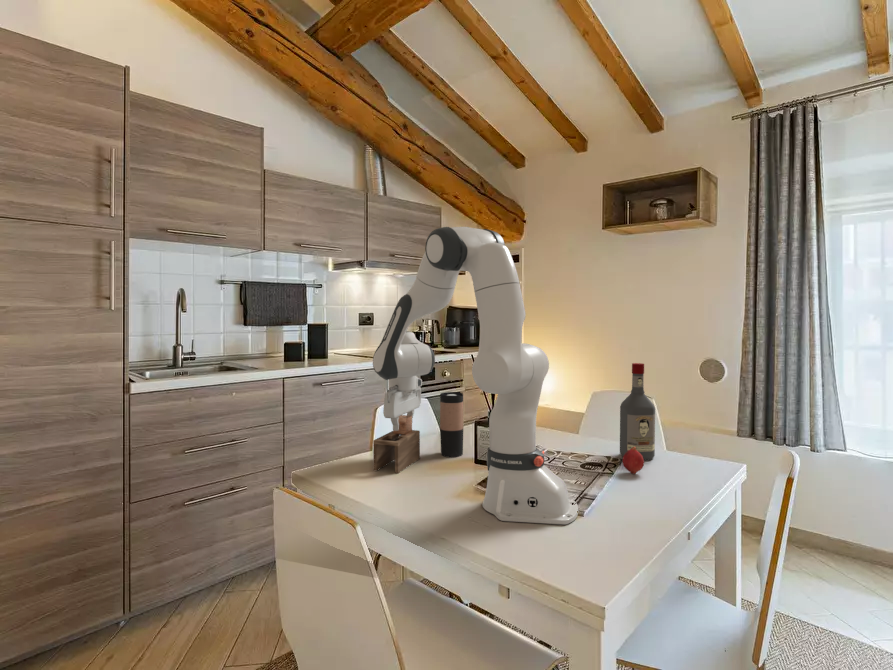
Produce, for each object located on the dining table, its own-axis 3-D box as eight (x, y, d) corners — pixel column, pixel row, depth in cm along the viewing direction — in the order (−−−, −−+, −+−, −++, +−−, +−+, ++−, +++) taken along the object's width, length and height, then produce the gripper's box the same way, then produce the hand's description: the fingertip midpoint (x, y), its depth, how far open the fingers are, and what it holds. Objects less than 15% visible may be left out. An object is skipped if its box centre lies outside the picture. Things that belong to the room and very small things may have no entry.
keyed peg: (412, 442, 165) (411, 415, 165) (406, 445, 161) (406, 418, 160) (399, 441, 166) (399, 414, 166) (393, 444, 162) (393, 417, 162)
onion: (622, 476, 148) (622, 448, 148) (622, 470, 153) (622, 443, 153) (644, 478, 146) (644, 449, 146) (643, 472, 152) (643, 444, 151)
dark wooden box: (419, 458, 166) (419, 430, 166) (398, 473, 151) (397, 442, 151) (397, 456, 169) (396, 428, 169) (373, 470, 154) (373, 440, 154)
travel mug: (437, 452, 174) (437, 392, 173) (459, 450, 176) (458, 391, 175) (444, 458, 166) (443, 396, 165) (466, 456, 169) (466, 395, 168)
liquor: (617, 453, 171) (618, 362, 170) (643, 452, 172) (644, 362, 171) (629, 461, 162) (630, 365, 161) (657, 460, 163) (659, 365, 162)
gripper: (397, 388, 152) (397, 435, 153) (424, 379, 171) (424, 421, 172) (377, 387, 154) (378, 433, 155) (406, 378, 173) (407, 420, 174)
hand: (402, 427), depth 163 cm, fingers open, 8 cm apart
